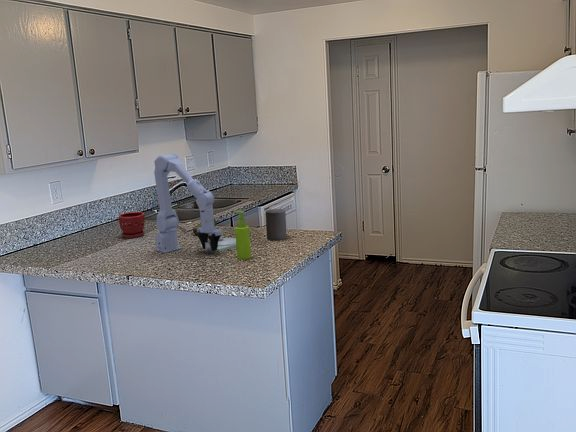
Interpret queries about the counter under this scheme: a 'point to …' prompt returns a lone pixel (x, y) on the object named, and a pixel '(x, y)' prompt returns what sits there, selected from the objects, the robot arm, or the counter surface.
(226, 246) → the scale
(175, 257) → the counter surface
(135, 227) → the plant pot
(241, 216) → the soap dispenser
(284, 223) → the pillar candle
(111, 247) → the counter surface
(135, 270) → the counter surface
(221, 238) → the cylinder
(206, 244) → the cylinder
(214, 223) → the potato
